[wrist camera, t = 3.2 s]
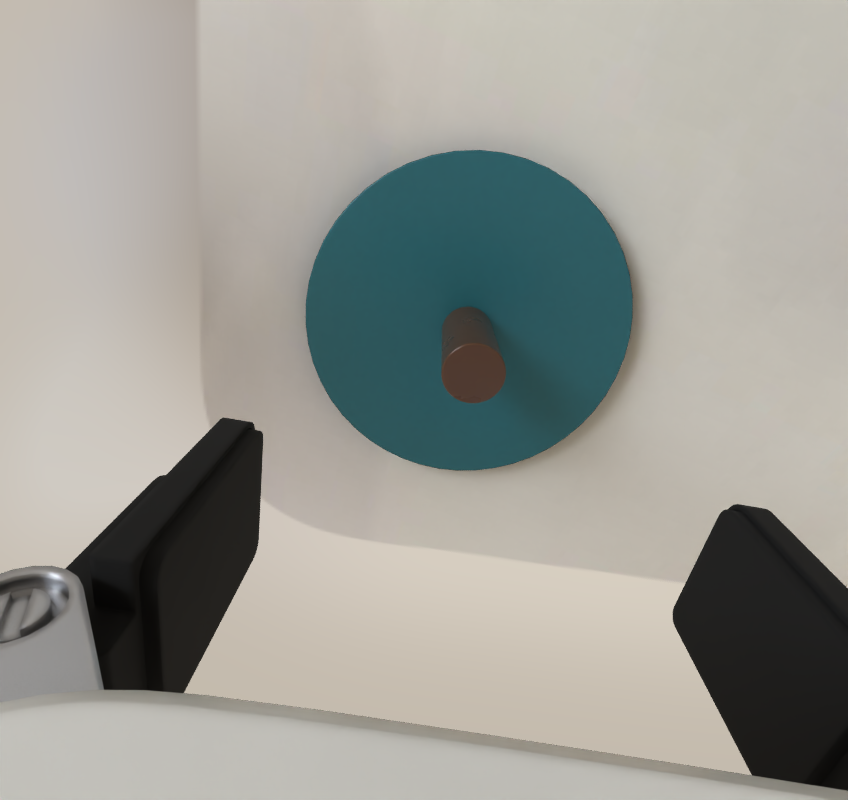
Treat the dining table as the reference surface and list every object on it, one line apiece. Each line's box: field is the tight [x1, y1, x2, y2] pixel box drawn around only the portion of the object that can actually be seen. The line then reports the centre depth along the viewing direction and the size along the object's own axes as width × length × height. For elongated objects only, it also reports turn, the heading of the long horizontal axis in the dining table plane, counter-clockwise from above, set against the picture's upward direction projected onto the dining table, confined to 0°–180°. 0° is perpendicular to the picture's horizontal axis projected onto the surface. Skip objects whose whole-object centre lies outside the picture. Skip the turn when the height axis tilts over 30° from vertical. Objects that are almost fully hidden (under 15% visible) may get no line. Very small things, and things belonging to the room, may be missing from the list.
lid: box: [306, 150, 633, 470], centre depth 22 cm, size 16×16×7 cm
